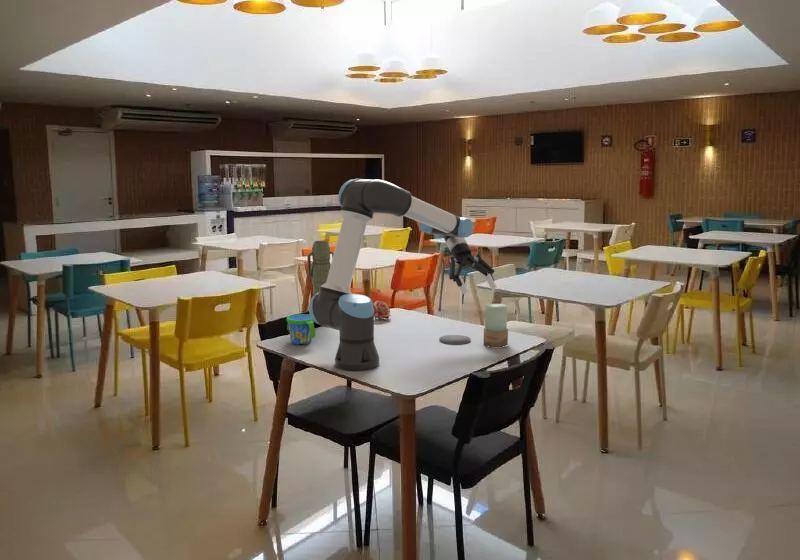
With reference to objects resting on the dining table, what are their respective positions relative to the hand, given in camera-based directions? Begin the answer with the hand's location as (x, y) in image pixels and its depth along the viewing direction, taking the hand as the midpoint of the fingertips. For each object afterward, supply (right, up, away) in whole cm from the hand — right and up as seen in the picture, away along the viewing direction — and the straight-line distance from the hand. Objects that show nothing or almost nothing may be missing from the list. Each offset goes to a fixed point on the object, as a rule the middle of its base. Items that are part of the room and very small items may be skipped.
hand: (480, 290), depth 253 cm
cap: (+5, -14, -7) cm, 17 cm away
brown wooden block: (+5, -20, -6) cm, 22 cm away
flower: (-39, -13, +36) cm, 54 cm away
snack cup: (-69, -20, -2) cm, 72 cm away
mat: (-10, -19, +1) cm, 22 cm away
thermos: (-65, -14, +33) cm, 74 cm away
